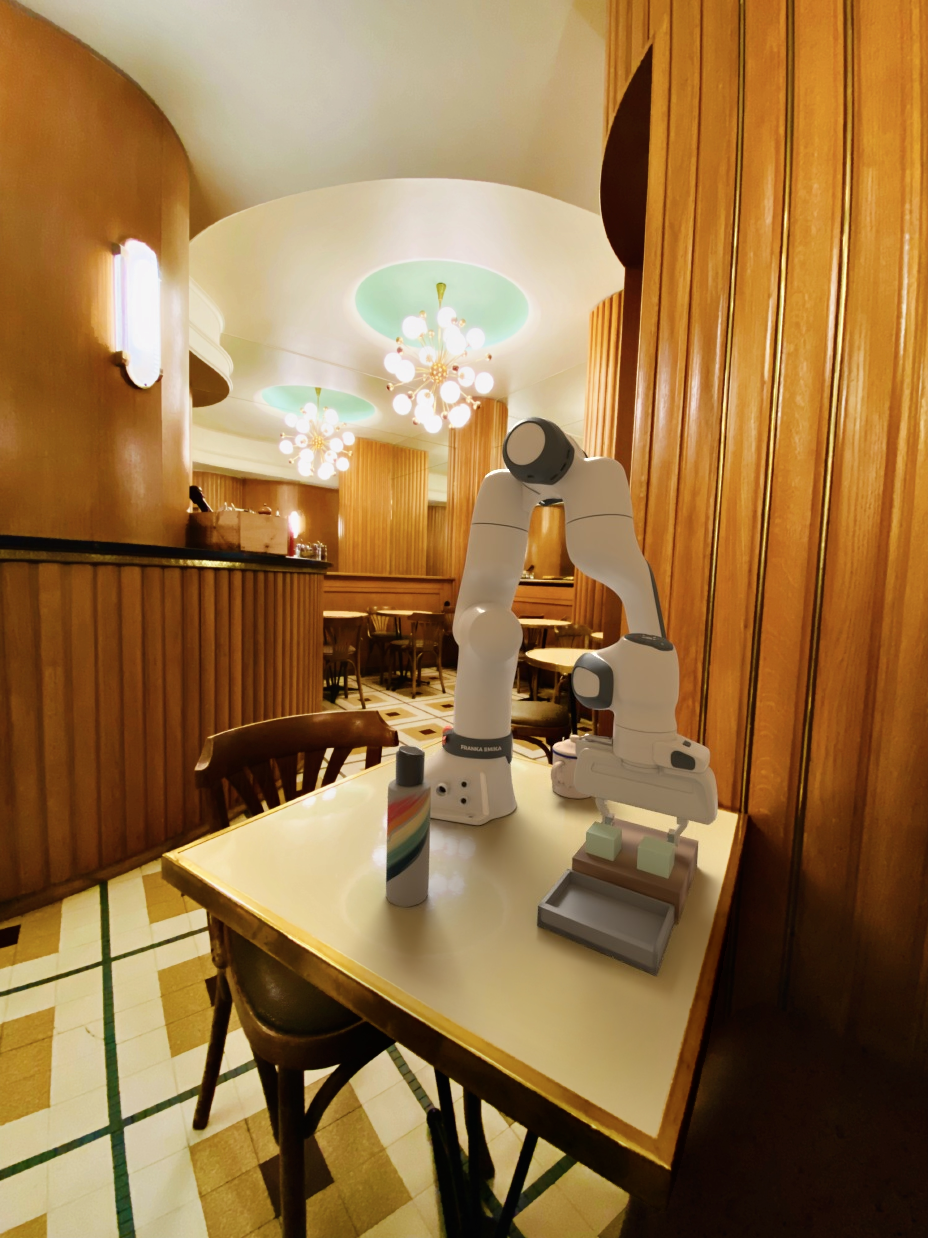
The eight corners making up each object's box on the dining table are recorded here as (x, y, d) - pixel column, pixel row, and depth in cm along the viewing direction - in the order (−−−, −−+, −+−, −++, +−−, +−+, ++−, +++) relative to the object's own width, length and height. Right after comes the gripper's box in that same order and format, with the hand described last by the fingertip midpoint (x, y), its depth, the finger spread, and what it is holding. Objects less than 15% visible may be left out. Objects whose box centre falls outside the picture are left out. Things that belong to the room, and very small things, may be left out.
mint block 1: (594, 840, 73) (595, 821, 73) (621, 849, 71) (622, 829, 71) (585, 852, 70) (586, 831, 70) (613, 861, 68) (614, 840, 68)
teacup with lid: (566, 779, 109) (568, 727, 108) (603, 792, 102) (605, 736, 101) (533, 793, 100) (535, 737, 100) (570, 808, 94) (573, 748, 93)
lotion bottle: (387, 882, 68) (390, 741, 67) (428, 881, 69) (431, 741, 68) (384, 908, 63) (387, 755, 62) (428, 907, 63) (432, 755, 62)
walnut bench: (605, 839, 82) (606, 815, 82) (697, 866, 75) (698, 840, 74) (571, 885, 69) (572, 857, 69) (678, 924, 61) (679, 893, 61)
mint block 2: (644, 855, 70) (644, 835, 69) (674, 865, 67) (675, 843, 67) (636, 868, 66) (637, 847, 66) (668, 878, 64) (669, 856, 64)
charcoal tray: (567, 886, 69) (567, 868, 68) (674, 925, 61) (675, 906, 61) (537, 925, 60) (537, 905, 60) (656, 976, 53) (657, 954, 52)
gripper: (569, 736, 76) (565, 823, 76) (717, 764, 65) (711, 866, 65) (582, 727, 81) (579, 809, 82) (722, 751, 70) (716, 846, 71)
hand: (639, 834), depth 73 cm, fingers open, 8 cm apart
